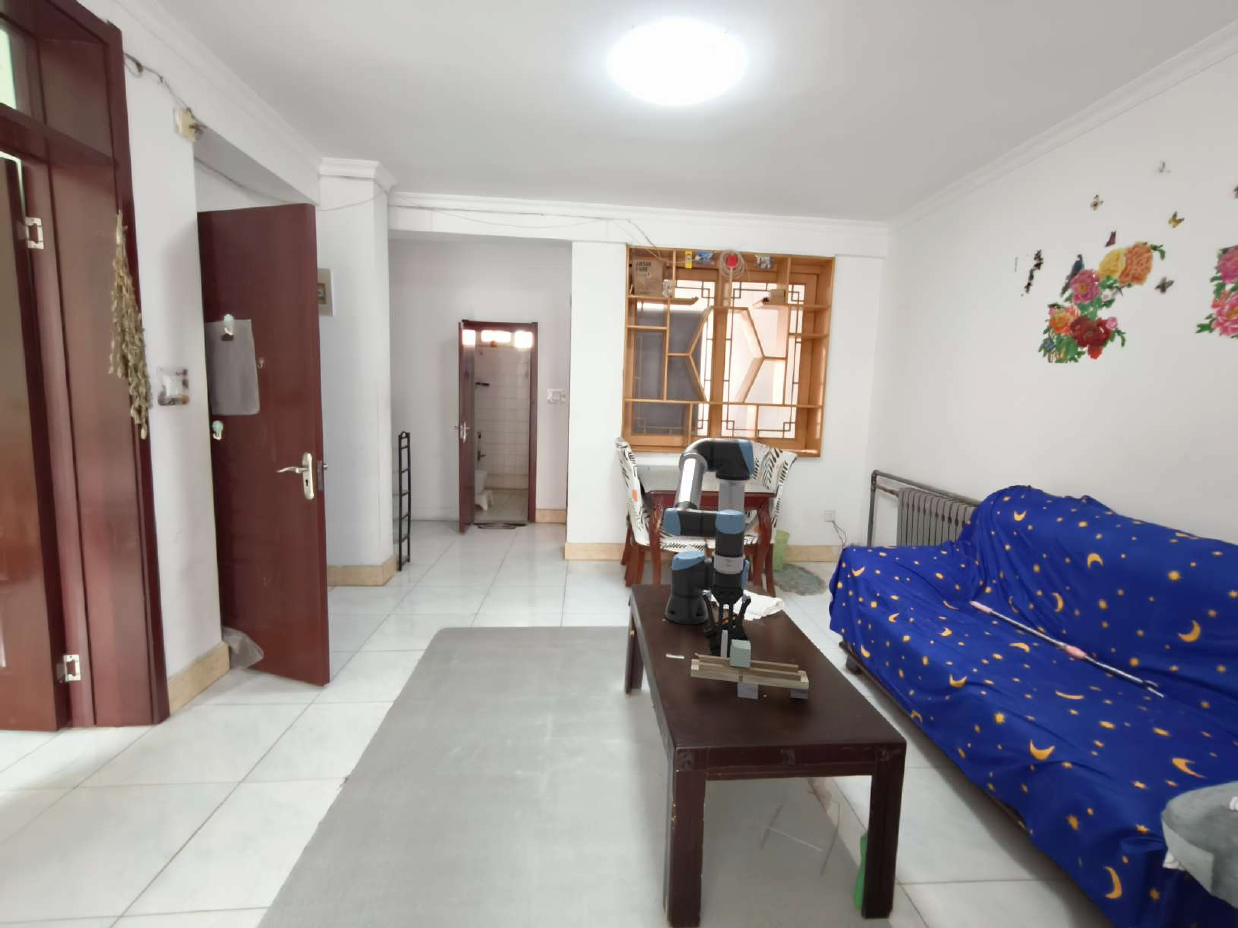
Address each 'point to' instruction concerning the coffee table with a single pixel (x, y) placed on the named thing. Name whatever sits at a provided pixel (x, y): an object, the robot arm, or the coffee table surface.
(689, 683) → the coffee table surface
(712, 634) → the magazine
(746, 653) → the block
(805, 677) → the beam
